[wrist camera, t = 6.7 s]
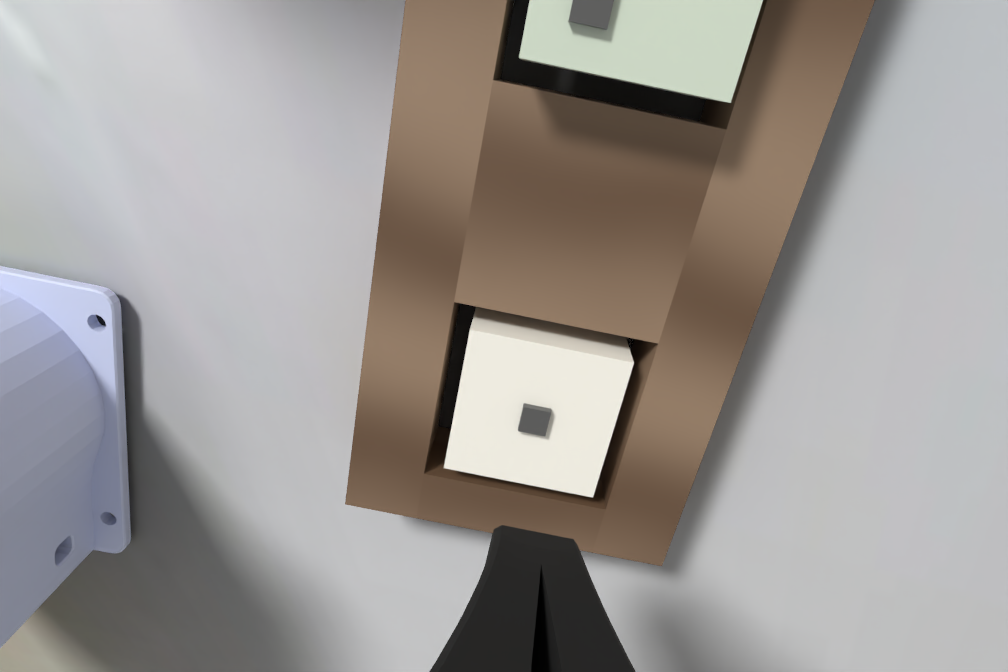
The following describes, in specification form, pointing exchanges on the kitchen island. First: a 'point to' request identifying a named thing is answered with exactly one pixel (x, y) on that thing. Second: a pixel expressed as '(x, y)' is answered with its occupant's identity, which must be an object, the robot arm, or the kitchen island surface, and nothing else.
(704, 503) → the kitchen island surface
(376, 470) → the button panel
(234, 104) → the kitchen island surface
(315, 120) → the kitchen island surface
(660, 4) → the two dot button
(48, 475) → the robot arm
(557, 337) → the one dot button
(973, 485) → the kitchen island surface
